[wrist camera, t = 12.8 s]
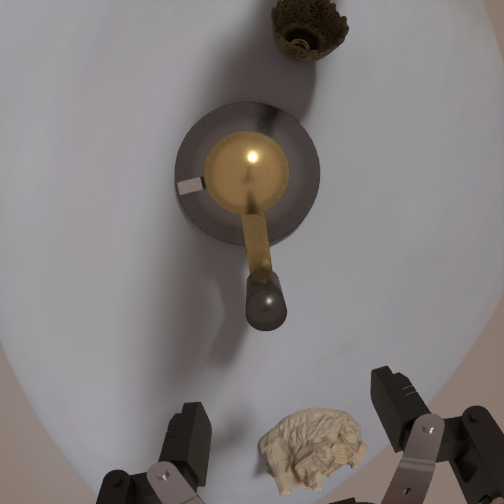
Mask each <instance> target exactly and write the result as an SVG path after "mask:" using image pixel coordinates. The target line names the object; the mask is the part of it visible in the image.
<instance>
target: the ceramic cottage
mask: <svg viewBox="0 0 504 504" xmlns="http://www.w3.org/2000/svg"><path fill="white" fill-rule="evenodd" d="M258 446H259V448H260V451H261V453H262V455H263V457H264V458H266V459H267V466H268V467H269V469H268V471H267V472H266V473H269V474H271V476H272V477H274V478H275V481H276V484H277V486H278V490H279V494H280V495H281V496H289V495H290V493H291V492H292V487H300V488H305V489H309V488H313V491H316V492H317V491H321V489H322V484H323V476H324V475H325V474H326V475H327V477H328V478H330V477H331V476H332V475H333V474H334V473H335V472H336V471H337V470H339V469H340V468H341V467H342V466H344V465H346V464H350V466H351V468H353V469H358V467H359V466H361V463H362V462H363V458H364V456H365V455H366V452H367V449H368V446H367V445H365V444H363V441H362V440H361V437H360V427H359V425H358V424H357V423H356V422H355V420H353V418H352V417H351V416H350V415H349V414H347V413H345V412H341V411H339V410H338V411H336V410H332V409H327V408H323V409H322V408H321V409H320V408H309V409H305V410H302V411H298V412H296V413H293V414H291V415H288V416H287V417H286V418H284V419H283V420H282V421H280V422H279V423H278V425H276V426H275V427H274V428H272V429H271V430H270V431H269V432H268V433H266V434H265V435H264V436H263V437H262V438H261V439H260V440H259V443H258Z"/></svg>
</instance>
